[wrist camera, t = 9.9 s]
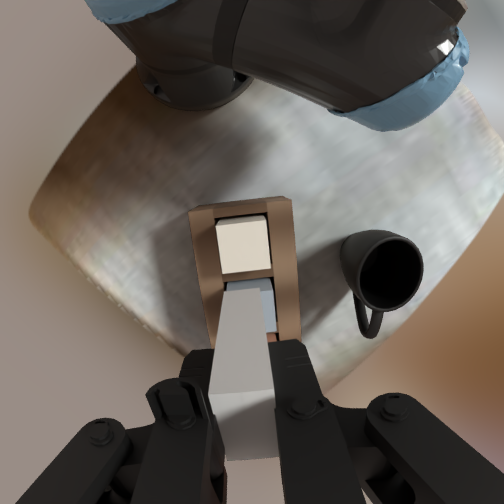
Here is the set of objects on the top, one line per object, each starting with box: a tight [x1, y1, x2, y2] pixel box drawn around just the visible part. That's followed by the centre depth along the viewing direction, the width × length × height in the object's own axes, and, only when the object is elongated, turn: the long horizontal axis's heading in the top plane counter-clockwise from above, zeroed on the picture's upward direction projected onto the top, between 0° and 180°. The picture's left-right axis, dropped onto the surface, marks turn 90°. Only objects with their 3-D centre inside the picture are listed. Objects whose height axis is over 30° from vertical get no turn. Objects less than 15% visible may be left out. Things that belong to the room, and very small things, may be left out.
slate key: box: [226, 277, 277, 333], centre depth 32 cm, size 4×4×7 cm
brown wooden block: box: [188, 196, 301, 349], centre depth 34 cm, size 20×10×7 cm, turn 6°
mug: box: [340, 230, 423, 339], centre depth 33 cm, size 8×12×10 cm
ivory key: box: [216, 212, 271, 274], centre depth 30 cm, size 4×4×7 cm
